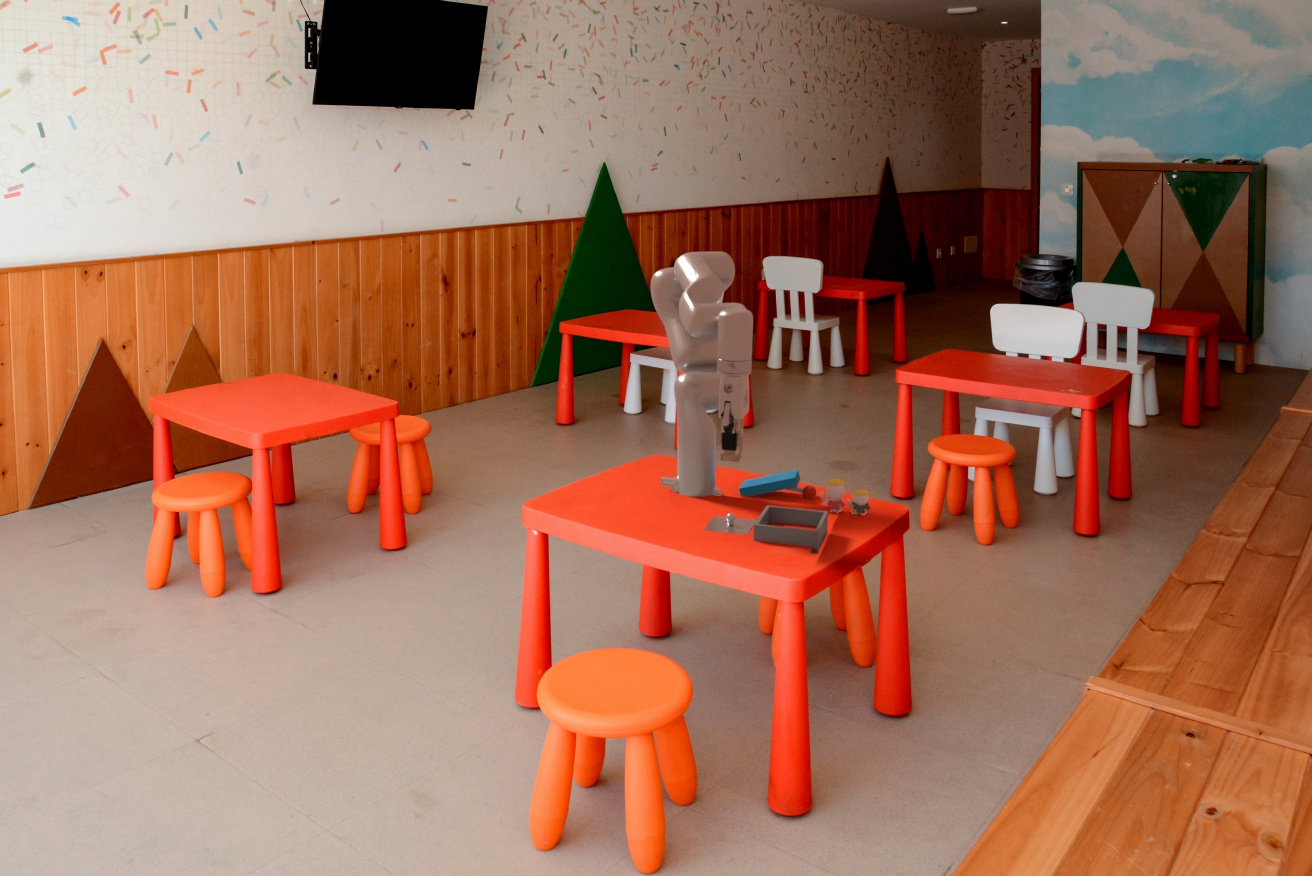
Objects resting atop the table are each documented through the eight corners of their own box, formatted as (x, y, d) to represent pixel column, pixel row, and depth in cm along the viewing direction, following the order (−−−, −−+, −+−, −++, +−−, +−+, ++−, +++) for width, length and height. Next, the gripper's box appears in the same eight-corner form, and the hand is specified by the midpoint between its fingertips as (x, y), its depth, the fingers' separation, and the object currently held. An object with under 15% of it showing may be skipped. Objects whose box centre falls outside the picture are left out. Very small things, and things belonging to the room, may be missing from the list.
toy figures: (870, 512, 253) (872, 478, 251) (869, 518, 249) (871, 484, 247) (819, 508, 256) (821, 475, 254) (818, 513, 252) (819, 480, 250)
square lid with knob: (703, 536, 237) (703, 517, 235) (714, 521, 246) (714, 504, 245) (747, 541, 234) (747, 522, 233) (756, 526, 243) (757, 508, 242)
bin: (753, 546, 230) (753, 524, 229) (766, 525, 243) (766, 505, 242) (817, 553, 226) (818, 531, 225) (827, 532, 239) (828, 511, 238)
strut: (738, 461, 233) (739, 417, 231) (720, 460, 235) (721, 416, 232) (742, 456, 237) (743, 413, 234) (724, 455, 238) (725, 412, 235)
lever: (745, 514, 265) (816, 501, 260) (738, 488, 264) (809, 474, 259) (750, 506, 272) (819, 493, 266) (743, 480, 270) (812, 467, 265)
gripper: (742, 375, 221) (739, 459, 226) (759, 359, 237) (756, 438, 242) (707, 372, 223) (705, 455, 228) (726, 357, 239) (724, 435, 244)
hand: (731, 446), depth 235 cm, fingers closed on strut, 4 cm apart
